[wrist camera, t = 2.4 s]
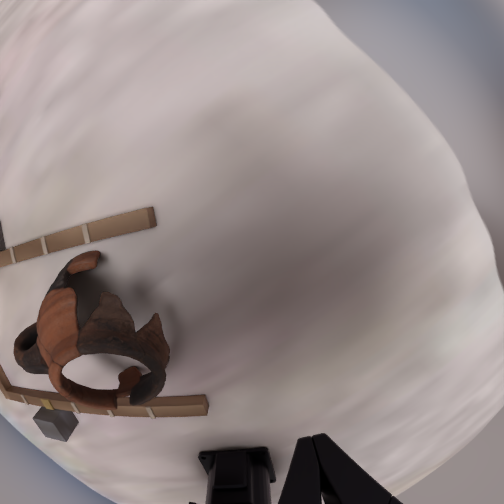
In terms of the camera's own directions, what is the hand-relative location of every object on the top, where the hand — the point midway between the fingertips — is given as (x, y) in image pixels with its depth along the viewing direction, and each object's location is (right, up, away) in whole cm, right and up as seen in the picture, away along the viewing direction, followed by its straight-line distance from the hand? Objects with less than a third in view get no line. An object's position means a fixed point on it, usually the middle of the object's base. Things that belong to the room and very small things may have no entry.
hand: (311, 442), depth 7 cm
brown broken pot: (-13, +1, +12) cm, 17 cm away
